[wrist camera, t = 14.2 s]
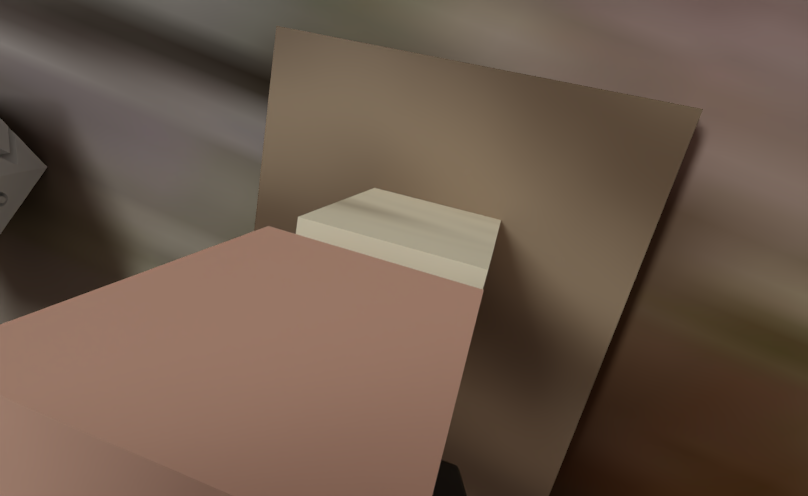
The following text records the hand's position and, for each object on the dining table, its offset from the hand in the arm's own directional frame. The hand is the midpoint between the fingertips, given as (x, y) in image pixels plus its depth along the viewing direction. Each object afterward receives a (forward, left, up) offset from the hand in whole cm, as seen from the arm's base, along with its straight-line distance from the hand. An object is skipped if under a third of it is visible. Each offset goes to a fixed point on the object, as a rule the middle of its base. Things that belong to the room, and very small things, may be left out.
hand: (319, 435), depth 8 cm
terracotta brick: (0, 0, -1) cm, 1 cm away
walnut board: (0, 0, -8) cm, 8 cm away
